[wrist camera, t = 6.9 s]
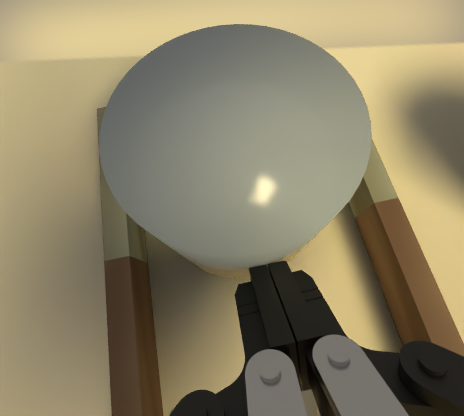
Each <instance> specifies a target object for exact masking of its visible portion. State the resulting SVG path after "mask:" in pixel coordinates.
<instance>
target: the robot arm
mask: <svg viewBox="0 0 464 416" xmlns="http://www.w3.org/2000/svg"><path fill="white" fill-rule="evenodd" d="M249 274H250V279H251V282H247V283H243V284H238V287H237V290H236V293H235V299H236V305H237V310H238V316H239V322H240V328H241V334H242V340H243V346H244V352H245V364H244V368H243V370H242V372H241V374H240V376H239V377H238V378H237V379H236V380H235V381H234V382H233V383H232V384H231V385H229V386H228V387H226V388H225V389H223V390H221V391H220V392H218V393H217V394H214V393H213V392H211V391H208V390H196V391H194V392H191V393H189V394H187V395H186V396H185V397H184V398H183V399H181V400H180V402H179V403H178V404H177V405H176V407H175V408H174V410H173V411H172V413H171V414H170V416H307V413H306V409H305V405H304V401H303V397H302V393H301V385H302V388H303V391H305V390H310V389H311V390H312V392H313V395H314V398H315V401H316V403H317V412H318V416H464V356H461V355H459V354H457V353H455V352H452V351H450V350H448V349H446V348H444V347H441V346H439V345H437V344H434V343H431V342H426V341H412V342H409V343H407V344H405V345H404V346H403V347H402V349H401V351H400V353H395V352H383V351H374V350H369V349H366V348H363V347H361V346H359V345H358V344H357V343H356V342H354V341H353V340H351V339H349V338H348V337H347V336H346V334H345V333H344V332H343V330H342V328H341V326H340V325H339V323H338V321H337V320H336V318H335V316H334V314H333V313H332V311H331V309H330V308H329V306H328V304H327V302H326V301H325V299H324V298H323V296H322V294H321V292H320V290H318V287H317V285H316V284H315V282H314V280H313V278H312V277H310V276H309V275H308V274H306V273H305V272H304V271H302V270H300V271H296V272H291V270H290V268H289V266H288V264H287V262H286V261H285V260H284V261H279V262H275V263H271V264H267V265H262V266H257V267H253V268H249ZM300 382H301V384H300Z"/></svg>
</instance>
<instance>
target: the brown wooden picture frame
mask: <svg viewBox="0 0 464 416" xmlns="http://www.w3.org/2000/svg"><path fill="white" fill-rule="evenodd" d="M105 109H106V107H103V108H99V109H97V120H98V141H99V136H100V130H101V123H102V119H103V116H104V113H105ZM99 161H100V182H101V202H102V223H103V243H104V264H105V284H106V305H107V325H108V346H109V366H110V387H111V407H112V416H163V409H162V399H161V390H160V380H159V370H158V360H157V350H156V341H155V331H154V321H153V311H152V301H151V292H150V282H149V272H148V262H147V252H146V242H145V233H144V228H142V227H141V226H140V225H138V224H137V223H136V222H135V221H134V220H133V219H132V218H131V217H130V216H129V215H128V214H127V213H126V212H125V211H124V210H123V208H122V207H121V206H120V204H119V203H118V201H117V200H116V199H115V197H114V196H113V194H112V192H111V190H110V188H109V186H108V184H107V182H106V179H105V175H104V172H103V169H102V165H101V159H100V152H99ZM349 204H350V207H351V210H352V212H353V215H354V217H355V220H356V223H357V225H358V228H359V231H360V233H361V236H362V239H363V241H364V244H365V247H366V249H367V252H368V254H369V257H370V260H371V262H372V265H373V268H374V270H375V273H376V276H377V278H378V281H379V284H380V286H381V289H382V291H383V294H384V297H385V299H386V302H387V305H388V307H389V310H390V313H391V315H392V318H393V320H394V323H395V326H396V328H397V331H398V334H399V336H400V339H401V342H402V344H403V346H404V345H405V344H407V343H409V342H412V341H426V342H431V343H434V344H437V345H439V346H441V347H444V348H446V349H448V350H450V351H452V352H455V353H457V354H459V355H461V356H464V344H463V341H462V339H461V337H460V335H459V332H458V330H457V328H456V326H455V323H454V321H453V319H452V317H451V315H450V312H449V310H448V308H447V306H446V303H445V301H444V299H443V297H442V294H441V292H440V290H439V288H438V285H437V283H436V281H435V279H434V277H433V274H432V272H431V270H430V268H429V265H428V263H427V261H426V259H425V256H424V254H423V252H422V250H421V247H420V245H419V243H418V241H417V239H416V236H415V234H414V232H413V230H412V227H411V225H410V223H409V221H408V218H407V216H406V214H405V212H404V209H403V207H402V205H401V203H400V201H399V198H398V196H397V194H396V192H395V189H394V187H393V185H392V183H391V180H390V178H389V176H388V174H387V171H386V169H385V167H384V165H383V162H382V160H381V158H380V156H379V154H378V151H377V149H376V147H375V145H374V142H373V140H372V139H371V151H370V156H369V160H368V164H367V168H366V171H365V173H364V176H363V178H362V180H361V183H360V185H359V187H358V188H357V190H356V191H355V193H354V195H353V196H352V198H351V199H350V201H349ZM301 393H302V397H303V401H304V405H305V409H306V413H307V416H318V412H317V403H316V401H315V398H314V395H313V392H312V390H311V389H310V390H305V391H303V389H301Z"/></svg>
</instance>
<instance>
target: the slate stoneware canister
mask: <svg viewBox="0 0 464 416" xmlns="http://www.w3.org/2000/svg"><path fill="white" fill-rule="evenodd" d="M371 139H372V134H371V121H370V117H369V113H368V109H367V105H366V103H365V100H364V98H363V95H362V93H361V91H360V89H359V88H358V86H357V84H356V82H355V81H354V79H353V78H352V77H351V75H350V74H349V73H348V72H347V70H346V69H345V68H344V67H343V66H342V65H341V64H340V63H339V62H338V61H337V60H336V59H335V58H334V57H333V56H331V55H330V54H329V53H328V52H326V51H325V50H324V49H322V48H321V47H319V46H317V45H316V44H314V43H312V42H310V41H309V40H306V39H304V38H302V37H300V36H298V35H295V34H293V33H290V32H286V31H283V30H280V29H276V28H271V27H267V26H258V25H244V24H234V25H221V26H214V27H208V28H204V29H200V30H196V31H192V32H190V33H187V34H184V35H181V36H179V37H176V38H174V39H172V40H170V41H168V42H166V43H164V44H163V45H161V46H159V47H158V48H156V49H154V50H153V51H151V52H150V53H149V54H147V55H146V56H145V57H144V58H142V59H141V60H140V61H139V62H138V63H137V64H136V65H135V66H134V67H132V68H131V69H130V70H129V72H128V73H127V74H126V75H125V76H124V78H123V79H122V80H121V81H120V83H119V84H118V86H117V88H116V89H115V91H114V92H113V94H112V96H111V98H110V100H109V102H108V105H107V107H106V109H105V113H104V116H103V119H102V123H101V130H100V136H99V152H100V159H101V165H102V169H103V172H104V175H105V179H106V182H107V184H108V186H109V188H110V190H111V192H112V194H113V196H114V197H115V199H116V200H117V201H118V203H119V204H120V206H121V207H122V208H123V210H124V211H125V212H126V213H127V214H128V215H129V216H130V217H131V218H132V219H133V220H134V221H135V222H136V223H137V224H138V225H140V226H141V227H142V228H144V229H145V230H146V231H148V232H149V233H150V234H152V235H153V236H154V237H156V238H157V239H159V240H160V241H162V242H163V243H164V244H166V245H167V246H169V247H170V248H171V249H173V250H174V251H176V252H177V253H178V254H180V255H181V256H183V257H184V258H185V259H187V260H188V261H190V262H191V263H193V264H194V265H195V266H197V267H199V268H201V269H202V270H204V271H206V272H209V273H211V274H214V275H218V276H222V277H227V278H250V274H249V268H253V267H257V266H262V265H267V264H271V263H275V262H279V261H284V260H285V261H286V262H288V261H289V260H290V259H291V258H292V257H294V256H295V255H296V254H297V253H298V252H299V251H300V250H301V249H302V248H303V247H304V246H305V245H306V244H307V243H308V242H309V241H310V240H311V239H312V238H314V237H315V236H316V235H317V234H318V233H319V232H320V231H321V230H322V229H323V228H324V227H325V226H326V225H327V224H328V223H329V222H330V221H331V220H332V219H333V218H334V217H335V216H336V215H337V214H338V213H339V212H340V211H341V210H342V209H343V208H344V206H345V205H346V204H347V203H348V202H349V201H350V199H351V198H352V196H353V195H354V193H355V191H356V190H357V188H358V187H359V185H360V183H361V180H362V178H363V176H364V173H365V171H366V168H367V164H368V160H369V156H370V151H371Z"/></svg>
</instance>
